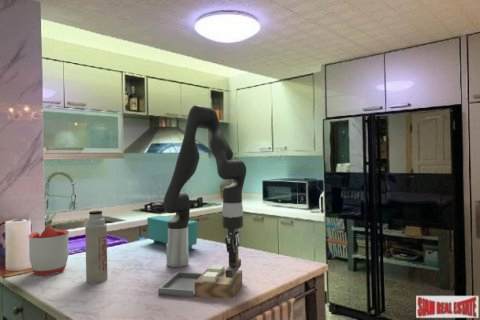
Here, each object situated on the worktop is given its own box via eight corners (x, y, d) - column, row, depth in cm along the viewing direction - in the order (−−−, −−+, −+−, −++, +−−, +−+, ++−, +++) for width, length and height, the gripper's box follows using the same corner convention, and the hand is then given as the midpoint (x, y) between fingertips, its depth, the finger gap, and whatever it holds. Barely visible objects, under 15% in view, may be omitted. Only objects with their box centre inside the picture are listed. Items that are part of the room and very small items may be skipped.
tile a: (203, 281, 124) (202, 275, 124) (206, 277, 128) (206, 271, 128) (215, 282, 123) (215, 276, 123) (218, 277, 127) (218, 272, 127)
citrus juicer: (61, 263, 165) (60, 221, 164) (74, 271, 152) (73, 226, 152) (23, 271, 154) (22, 226, 153) (34, 280, 141) (33, 231, 141)
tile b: (209, 274, 131) (209, 268, 131) (213, 270, 136) (213, 265, 136) (221, 274, 130) (221, 269, 130) (224, 270, 135) (224, 265, 135)
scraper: (225, 277, 121) (224, 250, 121) (234, 265, 135) (233, 240, 135) (233, 277, 120) (232, 250, 120) (241, 265, 134) (241, 240, 134)
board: (194, 296, 123) (194, 282, 123) (208, 280, 138) (207, 268, 138) (232, 299, 120) (232, 284, 120) (242, 283, 135) (242, 270, 135)
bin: (158, 295, 124) (158, 288, 124) (177, 277, 142) (177, 271, 142) (192, 297, 122) (192, 290, 122) (208, 279, 139) (208, 273, 139)
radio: (199, 249, 187) (199, 221, 187) (184, 253, 179) (184, 224, 179) (161, 239, 209) (161, 214, 209) (146, 243, 201) (146, 217, 201)
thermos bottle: (111, 278, 142) (110, 210, 142) (94, 284, 136) (93, 213, 135) (99, 275, 147) (98, 209, 146) (82, 281, 140) (80, 211, 140)
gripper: (227, 211, 135) (228, 255, 135) (217, 217, 121) (218, 266, 122) (246, 211, 134) (247, 256, 134) (238, 218, 120) (239, 267, 120)
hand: (233, 261), depth 128 cm, fingers closed on scraper, 3 cm apart
